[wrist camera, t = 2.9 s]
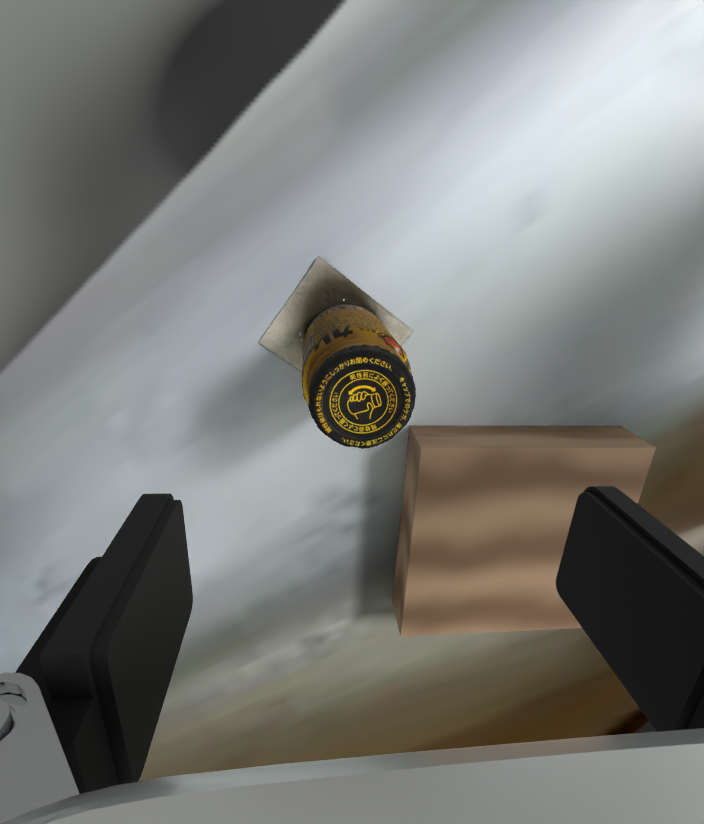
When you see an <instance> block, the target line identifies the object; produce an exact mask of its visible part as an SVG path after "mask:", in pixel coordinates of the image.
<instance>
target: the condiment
mask: <svg viewBox="0 0 704 824" xmlns="http://www.w3.org/2000/svg"><path fill="white" fill-rule="evenodd" d="M343 299H345V301H343ZM299 331H300V333H301V337H299V335H298V332H299ZM412 332H413V330H411V329H410V328H409V327H408V326H406V325H405V324H404V323H403V322H401V321H400V320H399V319H398V318H396V317H395V316H394V315H392V314H391V313H390V312H389V311H387V310H386V309H385V308H384V307H382V306H381V305H380V304H379V303H377V302H376V301H375V300H374V299H372V298H371V297H370V296H369V295H367V294H366V293H365V292H364V291H362V290H361V289H360V288H358V287H357V286H356V285H355V284H353V283H352V282H351V281H350V280H349V279H347V278H346V277H345V276H344V275H342V274H341V273H340V272H338V271H337V270H336V269H335V268H333V267H332V266H331V265H330V264H328V263H327V262H326V261H325V260H323V259H322V258H321V257H318V258H317V260H316V261H315V263H314V264H313V266H312V267H311V268H310V270H309V271H308V273H307V274H306V275H305V277H304V278H303V280H302V281H301V283H300V284H299V285H298V287H297V288H296V290H295V291H294V293H293V294H292V295H291V297H290V298H289V300H288V301H287V303H286V304H285V305H284V307H283V308H282V310H281V311H280V313H279V314H278V316H277V317H276V318H275V320H274V321H273V323H272V324H271V325H270V327H269V328H268V330H267V331H266V333H265V334H264V336H263V337H262V338H261V340H260V341H259V343H260V344H262V345H263V346H265V347H266V348H267V349H269V350H270V351H272V352H273V353H275V354H276V355H278V356H279V357H280V358H282V359H283V360H285V361H287V362H288V363H290V364H291V365H292V366H294V367H295V368H297V369H298V370H300V371H301V372H302V387H303V392H304V393H303V394H304V398H305V400H306V402H307V404H308V406H309V410H310V412H311V415H312V418H313V419H314V421H315V423H316V424H317V427H319V429H320V430H321V431H322V432H323V433H324V434H325V435H326V436H328V437H330V438H331V439H332V440H333V441H336V442H337V443H339V444H341V445H344V446H348V447H358V448H362V449H363V448H370V447H374V446H377V445H380V444H382V443H384V442H386V441H388V440H390V439H392V438H393V437H394V436H395V435H396V434H397V433H398V432H400V430H401V429H402V428H403V427H404V426H405V425H406V424H407V422H408V421H409V419H410V417H411V414H412V411H413V409H414V405H415V397H416V392H415V391H416V389H415V384H414V381H413V377H412V374H411V368H410V364H409V362H408V359H407V356H406V353H405V352H404V350H403V349H402V347H401V346H402V345H403V344H404V342H405V341H406V340H407V339H408V337H409V336H410V335H411V334H412ZM300 338H303V341H302V342H301V341H300Z"/></svg>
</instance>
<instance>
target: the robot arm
mask: <svg viewBox="0 0 704 824" xmlns="http://www.w3.org/2000/svg"><path fill="white" fill-rule="evenodd" d="M556 589H557V592H558V594H559V596H560V597H561V599H562V600H563V602H564V603H565V604H566V606H567V607H568V608H569V610H570V611H571V613H572V614H573V615H574V617H575V618H576V620H577V621H578V622H579V624H580V625H581V627H582V628H583V629H584V631H585V632H586V634H587V635H588V636H589V638H590V639H591V641H592V642H593V643H594V645H595V646H596V647H597V649H598V650H599V652H600V653H601V654H602V656H603V657H604V659H605V660H606V661H607V663H608V664H609V666H610V667H611V668H612V670H613V671H614V673H615V674H616V675H617V677H618V678H619V680H620V681H621V682H622V684H623V685H624V686H625V688H626V689H627V691H628V692H629V693H630V695H631V696H632V698H633V699H634V700H635V702H636V703H637V705H638V706H639V707H640V709H641V710H642V712H643V713H644V714H645V716H646V717H647V719H648V720H649V721H650V723H651V724H652V725H653V727H654V728H655V729H656V731H657V732H649V733H636V734H623V735H610V736H598V737H586V738H574V739H562V740H550V741H538V742H526V743H514V744H502V745H491V746H479V747H467V748H456V749H444V750H432V751H421V752H410V753H399V754H388V755H377V756H366V757H355V758H344V759H333V760H322V761H311V762H300V763H289V764H278V765H269V766H260V767H251V768H242V769H233V770H224V771H215V772H206V773H196V774H187V775H178V776H171V777H164V778H158V779H152V780H146V781H140V782H138V780H139V778H140V777H141V774H142V771H143V768H144V765H145V761H146V758H147V755H148V751H149V748H150V745H151V742H152V738H153V735H154V732H155V729H156V725H157V722H158V719H159V715H160V712H161V709H162V706H163V702H164V699H165V696H166V693H167V689H168V686H169V683H170V679H171V676H172V673H173V670H174V666H175V663H176V660H177V657H178V653H179V650H180V647H181V643H182V640H183V637H184V634H185V630H186V627H187V624H188V621H189V617H190V614H191V610H192V602H193V594H192V585H191V576H190V568H189V559H188V550H187V542H186V533H185V524H184V516H183V507H182V502H181V501H180V500H174V499H173V496H172V495H171V494H143V495H142V496H141V497H140V499H139V500H138V502H137V503H136V505H135V506H134V508H133V510H132V511H131V513H130V514H129V516H128V517H127V519H126V520H125V522H124V524H123V525H122V527H121V528H120V530H119V531H118V533H117V535H116V536H115V538H114V539H113V541H112V542H111V544H110V545H109V547H108V549H107V550H106V552H105V553H104V555H103V556H102V557H96V558H94V559H92V560H91V561H90V563H89V564H88V565H87V566H86V568H85V569H84V571H83V572H82V574H81V575H80V577H79V578H78V580H77V581H76V583H75V584H74V586H73V587H72V589H71V590H70V592H69V593H68V595H67V596H66V598H65V599H64V601H63V602H62V604H61V605H60V607H59V608H58V610H57V611H56V613H55V614H54V616H53V617H52V619H51V620H50V622H49V623H48V625H47V626H46V627H45V629H44V630H43V632H42V633H41V635H40V636H39V638H38V639H37V641H36V642H35V644H34V645H33V647H32V648H31V650H30V651H29V653H28V654H27V656H26V657H25V659H24V660H23V662H22V663H21V665H20V666H19V668H18V669H17V671H16V672H15V673H2V674H0V824H704V556H703V555H701V554H700V553H699V552H698V551H696V550H695V549H694V548H693V547H691V546H690V545H689V544H687V543H686V542H685V541H684V540H682V539H681V538H680V537H679V536H677V535H676V534H675V533H674V532H672V531H671V530H670V529H669V528H667V527H666V526H665V525H663V524H662V523H661V522H660V521H658V520H657V519H656V518H655V517H653V516H652V515H651V514H650V513H648V512H647V511H646V510H644V509H643V508H642V507H641V506H639V505H638V504H637V503H636V502H634V501H633V500H632V499H631V498H629V497H628V496H627V495H625V494H624V493H623V492H622V491H620V490H619V489H618V488H616V487H614V486H590V487H587V488H586V489H585V490H584V492H583V493H580V495H579V496H578V498H577V502H576V506H575V510H574V513H573V517H572V521H571V525H570V528H569V532H568V536H567V540H566V543H565V547H564V551H563V555H562V558H561V562H560V566H559V570H558V573H557V577H556Z"/></svg>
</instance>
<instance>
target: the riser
mask: <svg viewBox="0 0 704 824" xmlns="http://www.w3.org/2000/svg"><path fill="white" fill-rule="evenodd" d="M655 450H656V447H655V446H653V445H651V444H650V443H648V442H646V441H645V440H643V439H641V438H640V437H638V436H636V435H635V434H633V433H631V432H630V431H628V430H626V429H625V428H623V427H621V426H410V427H409V437H408V447H407V457H406V467H405V478H404V488H403V498H402V508H401V518H400V528H399V538H398V548H397V558H396V569H395V579H394V589H393V599H392V601H393V606H394V610H395V614H396V619H397V623H398V627H399V632H400V636H419V635H440V634H462V633H483V632H505V631H526V630H548V629H569V628H582V627H581V625H580V624H579V622H578V621H577V620H576V618H575V617H574V615H573V614H572V613H571V611H570V610H569V608H568V607H567V606H566V604H565V603H564V602H563V600H562V599H561V597H560V596H559V594H558V592H557V589H556V577H557V573H558V570H559V566H560V562H561V558H562V555H563V551H564V547H565V543H566V540H567V536H568V532H569V528H570V525H571V521H572V517H573V513H574V510H575V506H576V502H577V498H578V496H579V495H580V493H583V492H584V490H585V489H586V488H587V487H590V486H614V487H616V488H618V489H619V490H620V491H622V492H623V493H624V494H625V495H627V496H628V497H629V498H631V499H632V500H633V501H634V502H636V503H637V504H638V501H639V498H640V495H641V492H642V489H643V486H644V483H645V480H646V477H647V474H648V471H649V468H650V465H651V462H652V459H653V456H654V453H655Z"/></svg>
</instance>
